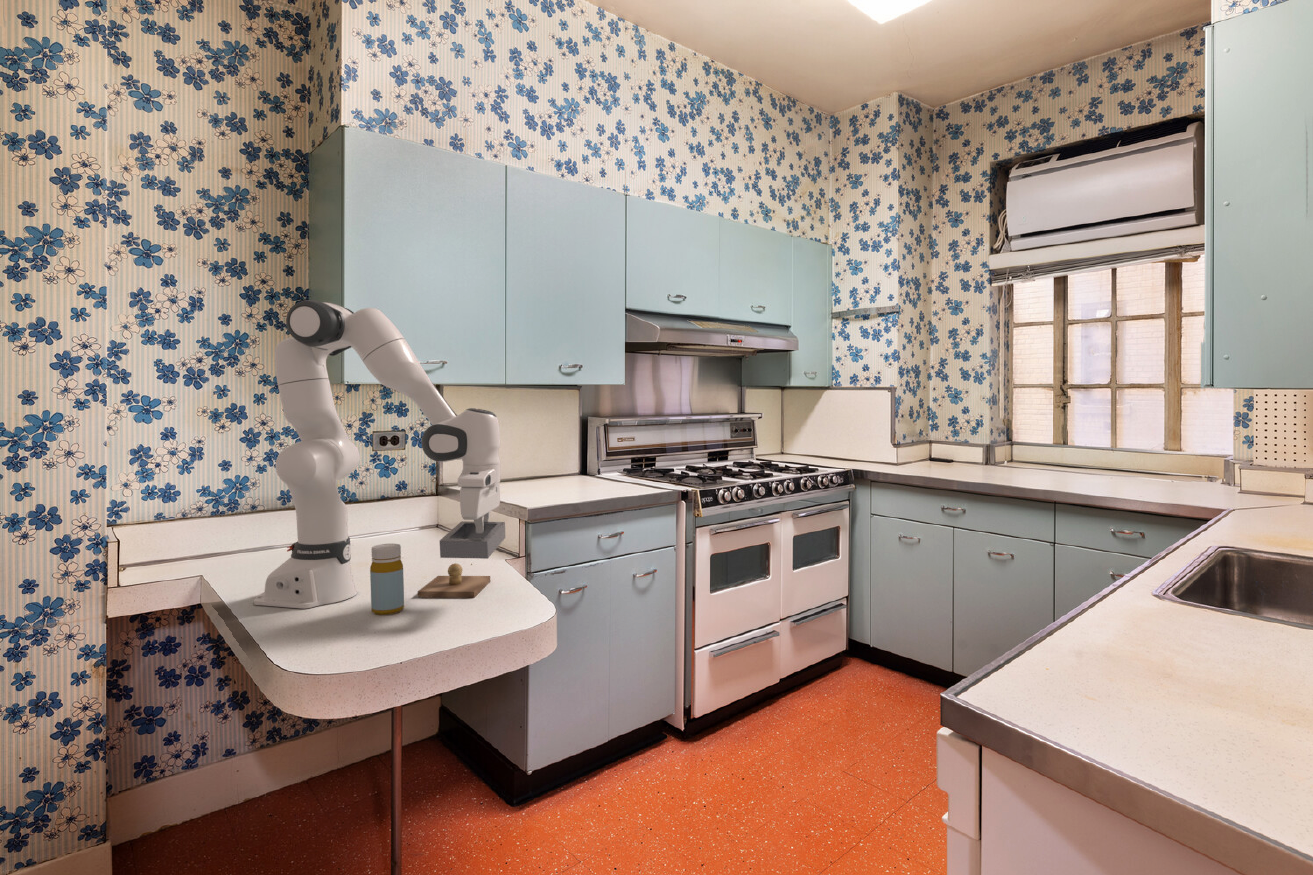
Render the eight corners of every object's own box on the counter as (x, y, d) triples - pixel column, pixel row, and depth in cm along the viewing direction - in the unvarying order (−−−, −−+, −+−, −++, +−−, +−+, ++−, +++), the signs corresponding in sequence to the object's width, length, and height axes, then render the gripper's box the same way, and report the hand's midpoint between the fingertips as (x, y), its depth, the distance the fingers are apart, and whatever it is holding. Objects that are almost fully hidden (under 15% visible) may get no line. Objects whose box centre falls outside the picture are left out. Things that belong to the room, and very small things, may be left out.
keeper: (417, 597, 161) (417, 570, 160) (438, 581, 175) (437, 556, 174) (474, 597, 160) (473, 571, 160) (490, 581, 174) (489, 557, 174)
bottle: (392, 616, 147) (390, 550, 146) (364, 614, 148) (362, 549, 147) (410, 606, 154) (408, 543, 153) (383, 605, 155) (381, 542, 154)
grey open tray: (440, 557, 147) (439, 540, 147) (462, 536, 162) (461, 521, 161) (487, 558, 147) (487, 541, 146) (505, 537, 161) (504, 522, 161)
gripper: (481, 470, 170) (482, 522, 171) (454, 480, 150) (455, 540, 151) (506, 470, 170) (506, 523, 171) (482, 480, 150) (482, 540, 150)
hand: (482, 531), depth 161 cm, fingers closed on grey open tray, 2 cm apart
